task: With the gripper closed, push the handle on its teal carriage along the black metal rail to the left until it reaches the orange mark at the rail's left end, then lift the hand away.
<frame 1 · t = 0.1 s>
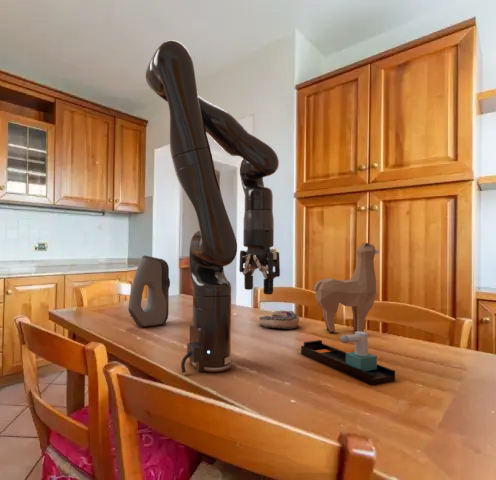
hand: (258, 291, 85), 17 cm above the table, tool pointing down, fingers open, 8 cm apart
brown holed slab: (150, 326, 119), on the table
toy: (345, 333, 111), on the table
handle: (355, 350, 76), point 5 cm above the table, slide at 0.0 cm
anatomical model: (279, 326, 120), on the table
rail: (343, 365, 81), on the table
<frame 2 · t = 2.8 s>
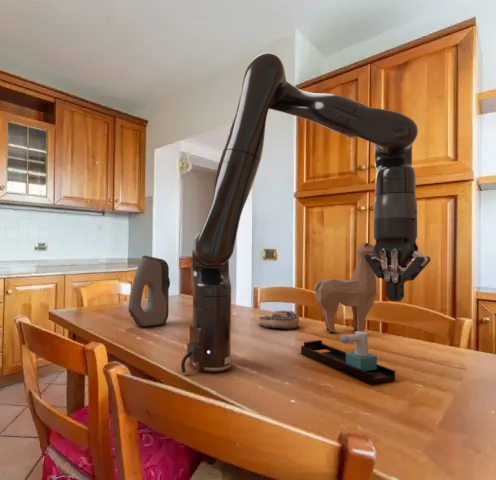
hand: (395, 300, 69), 18 cm above the table, tool pointing down, fingers closed
nothing on the table moved.
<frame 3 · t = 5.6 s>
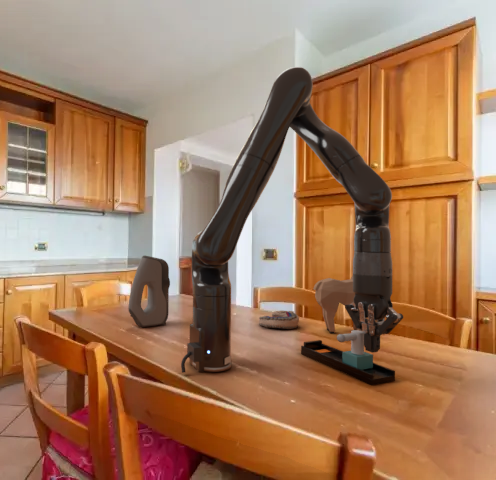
hand: (372, 351, 73), 6 cm above the table, tool pointing down, fingers closed
handle: (352, 349, 76), point 5 cm above the table, slide at 1.0 cm, touching gripper
everything else where it was.
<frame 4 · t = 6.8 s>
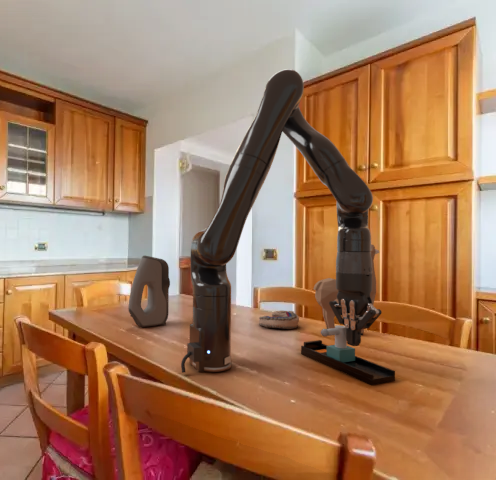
hand: (353, 344, 78), 6 cm above the table, tool pointing down, fingers closed
handle: (335, 343, 81), point 5 cm above the table, slide at 5.8 cm, touching gripper
everything else where it was.
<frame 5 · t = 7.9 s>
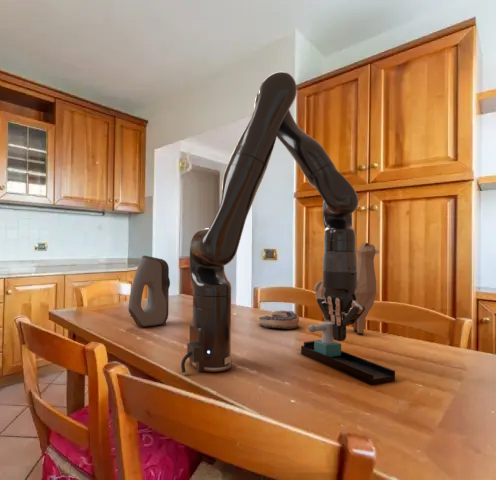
hand: (339, 340, 82), 6 cm above the table, tool pointing down, fingers closed
handle: (322, 339, 85), point 5 cm above the table, slide at 9.9 cm, touching gripper
everything else where it was.
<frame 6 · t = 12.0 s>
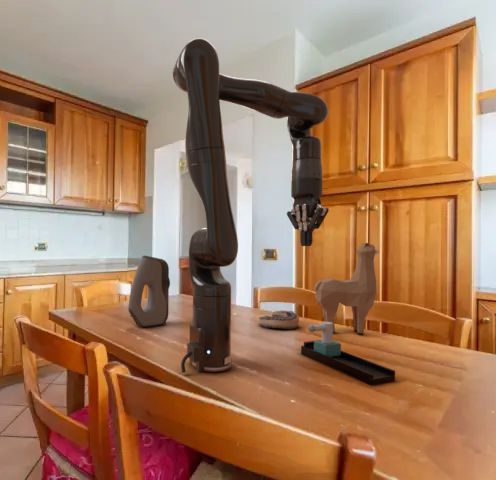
hand: (306, 246, 86), 29 cm above the table, tool pointing down, fingers closed
handle: (322, 338, 85), point 5 cm above the table, slide at 10.0 cm
everything else where it was.
at the end: handle slide at 10.0 cm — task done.
